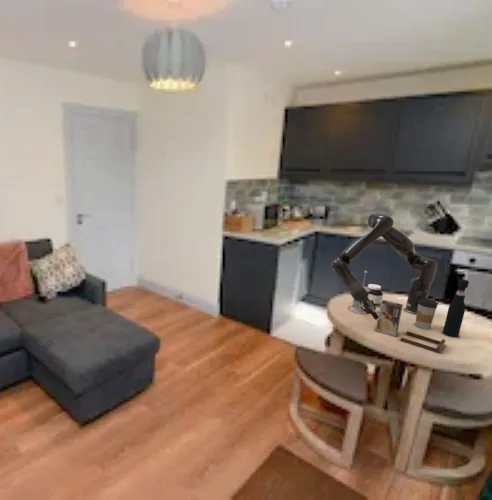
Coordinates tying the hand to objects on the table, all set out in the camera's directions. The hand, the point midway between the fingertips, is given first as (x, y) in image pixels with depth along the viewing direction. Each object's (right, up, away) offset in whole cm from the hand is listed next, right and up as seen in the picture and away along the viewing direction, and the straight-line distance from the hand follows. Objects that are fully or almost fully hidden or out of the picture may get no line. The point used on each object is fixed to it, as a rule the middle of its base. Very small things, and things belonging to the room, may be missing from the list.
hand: (377, 318), depth 196 cm
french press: (+4, 0, +23) cm, 24 cm away
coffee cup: (+27, -5, +4) cm, 28 cm away
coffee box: (+3, -7, -2) cm, 8 cm away
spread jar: (+16, +3, +35) cm, 39 cm away
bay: (+14, -9, -13) cm, 21 cm away
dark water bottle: (+35, -8, -5) cm, 36 cm away
